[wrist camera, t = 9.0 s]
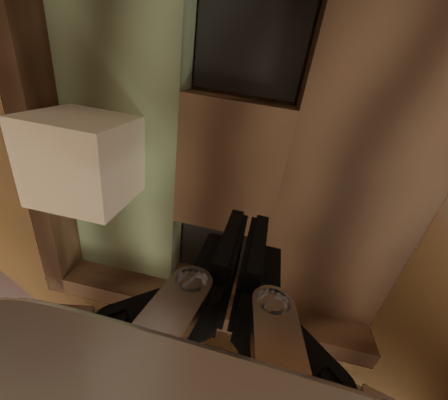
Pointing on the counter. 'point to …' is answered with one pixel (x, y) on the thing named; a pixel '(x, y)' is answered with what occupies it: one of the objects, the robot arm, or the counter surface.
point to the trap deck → (249, 141)
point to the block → (76, 160)
